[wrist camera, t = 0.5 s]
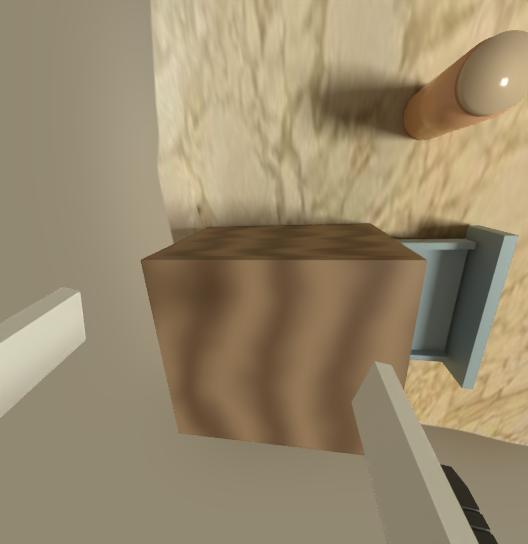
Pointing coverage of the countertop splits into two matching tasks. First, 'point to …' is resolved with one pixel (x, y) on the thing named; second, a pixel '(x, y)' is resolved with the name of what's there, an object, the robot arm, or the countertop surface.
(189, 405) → the block
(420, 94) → the jar
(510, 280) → the countertop surface
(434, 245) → the tray
